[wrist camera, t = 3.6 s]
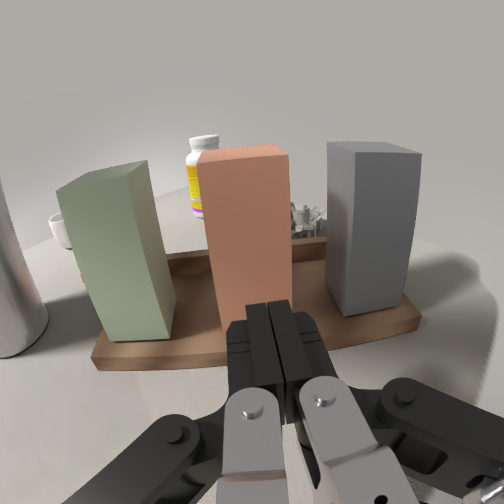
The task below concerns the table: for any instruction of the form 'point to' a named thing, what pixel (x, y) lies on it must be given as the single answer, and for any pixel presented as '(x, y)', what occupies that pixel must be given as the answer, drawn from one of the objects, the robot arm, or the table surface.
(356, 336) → the walnut tray
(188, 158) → the supplement bottle
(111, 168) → the sage block
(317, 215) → the egg carton
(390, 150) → the charcoal block
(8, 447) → the table surface
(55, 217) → the teacup
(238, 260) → the terracotta block
